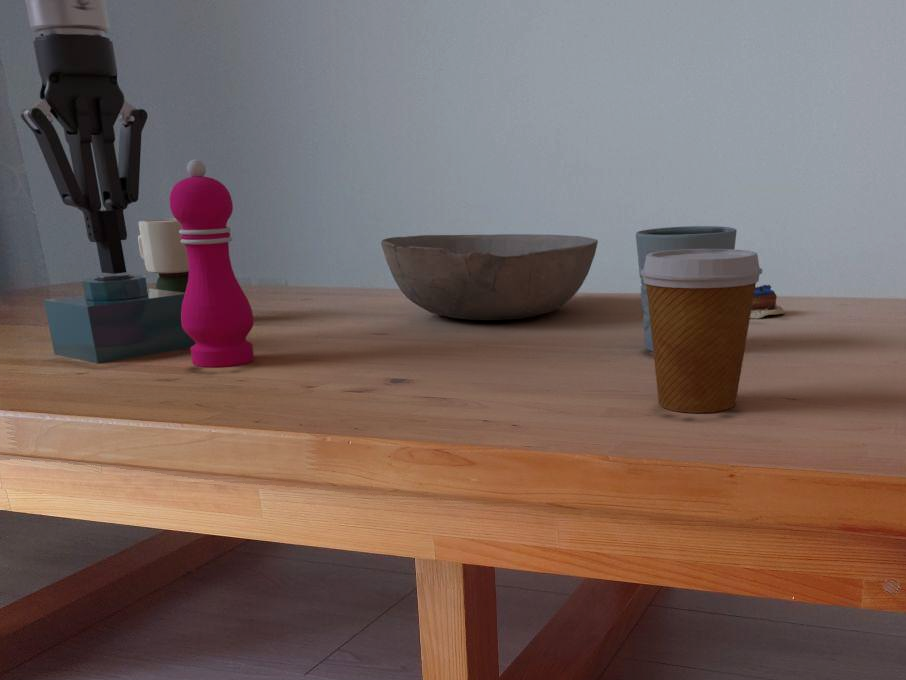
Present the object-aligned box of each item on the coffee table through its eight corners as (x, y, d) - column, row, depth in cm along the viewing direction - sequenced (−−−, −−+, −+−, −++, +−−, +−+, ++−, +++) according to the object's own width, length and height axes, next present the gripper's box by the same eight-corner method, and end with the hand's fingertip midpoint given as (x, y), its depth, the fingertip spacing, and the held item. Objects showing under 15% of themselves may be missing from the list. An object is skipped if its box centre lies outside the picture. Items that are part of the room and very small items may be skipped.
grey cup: (751, 348, 106) (757, 228, 101) (674, 360, 101) (677, 235, 96) (690, 335, 114) (693, 224, 109) (616, 345, 109) (616, 230, 105)
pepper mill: (174, 363, 106) (142, 161, 99) (235, 353, 111) (209, 159, 104) (210, 371, 102) (179, 159, 94) (272, 360, 106) (247, 158, 99)
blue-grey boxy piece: (97, 363, 107) (83, 287, 104) (54, 354, 113) (39, 281, 111) (197, 346, 116) (187, 274, 113) (152, 338, 122) (141, 270, 119)
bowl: (347, 327, 126) (339, 244, 122) (449, 297, 149) (445, 227, 146) (550, 336, 116) (548, 245, 112) (625, 302, 139) (626, 227, 136)
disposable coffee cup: (780, 406, 82) (789, 253, 78) (690, 424, 77) (695, 262, 73) (702, 386, 89) (706, 246, 85) (616, 402, 85) (616, 254, 80)
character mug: (233, 320, 134) (220, 217, 129) (195, 328, 128) (180, 221, 123) (171, 317, 138) (156, 217, 134) (132, 325, 132) (114, 221, 128)
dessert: (749, 314, 122) (736, 270, 123) (719, 340, 127) (707, 298, 129) (800, 313, 125) (787, 271, 126) (769, 338, 131) (756, 298, 132)
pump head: (109, 296, 110) (106, 277, 109) (93, 294, 112) (90, 275, 111) (140, 292, 112) (137, 274, 112) (123, 290, 115) (120, 272, 114)
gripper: (24, 27, 96) (72, 281, 105) (150, 35, 105) (185, 268, 114) (-10, 35, 101) (40, 277, 109) (114, 42, 110) (150, 265, 118)
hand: (114, 272), depth 111 cm, fingers closed
